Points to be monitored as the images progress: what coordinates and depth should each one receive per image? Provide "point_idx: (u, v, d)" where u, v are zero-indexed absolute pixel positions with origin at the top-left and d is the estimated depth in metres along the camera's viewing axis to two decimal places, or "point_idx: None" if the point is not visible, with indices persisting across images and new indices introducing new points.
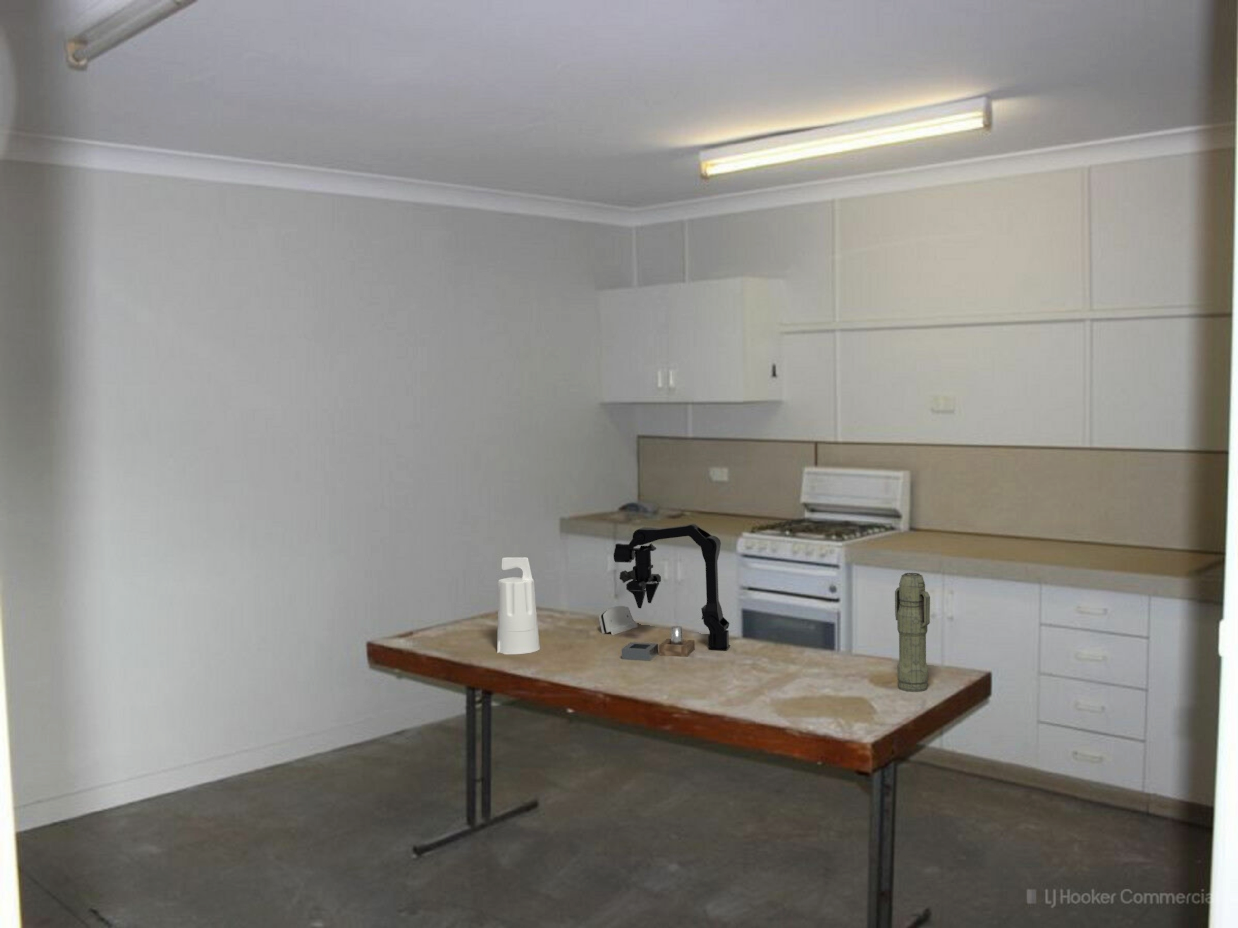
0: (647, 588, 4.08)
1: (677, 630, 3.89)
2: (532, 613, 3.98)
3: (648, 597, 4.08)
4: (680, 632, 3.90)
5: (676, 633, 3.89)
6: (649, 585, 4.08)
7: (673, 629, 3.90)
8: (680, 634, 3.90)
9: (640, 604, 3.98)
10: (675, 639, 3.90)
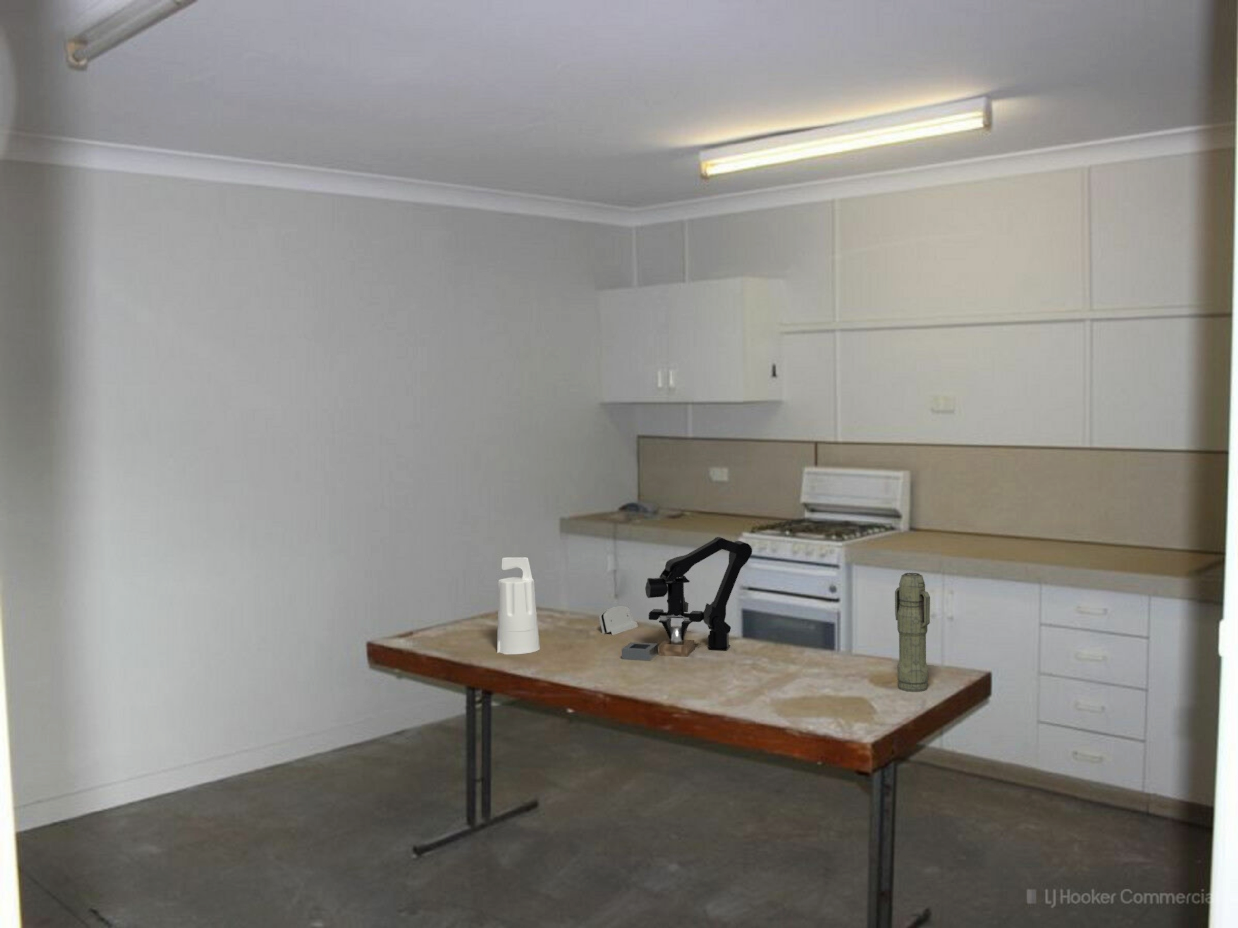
0: None
1: (677, 630, 3.89)
2: (532, 613, 3.98)
3: None
4: (680, 632, 3.90)
5: (676, 633, 3.89)
6: None
7: (673, 629, 3.90)
8: (680, 634, 3.90)
9: None
10: (675, 639, 3.90)
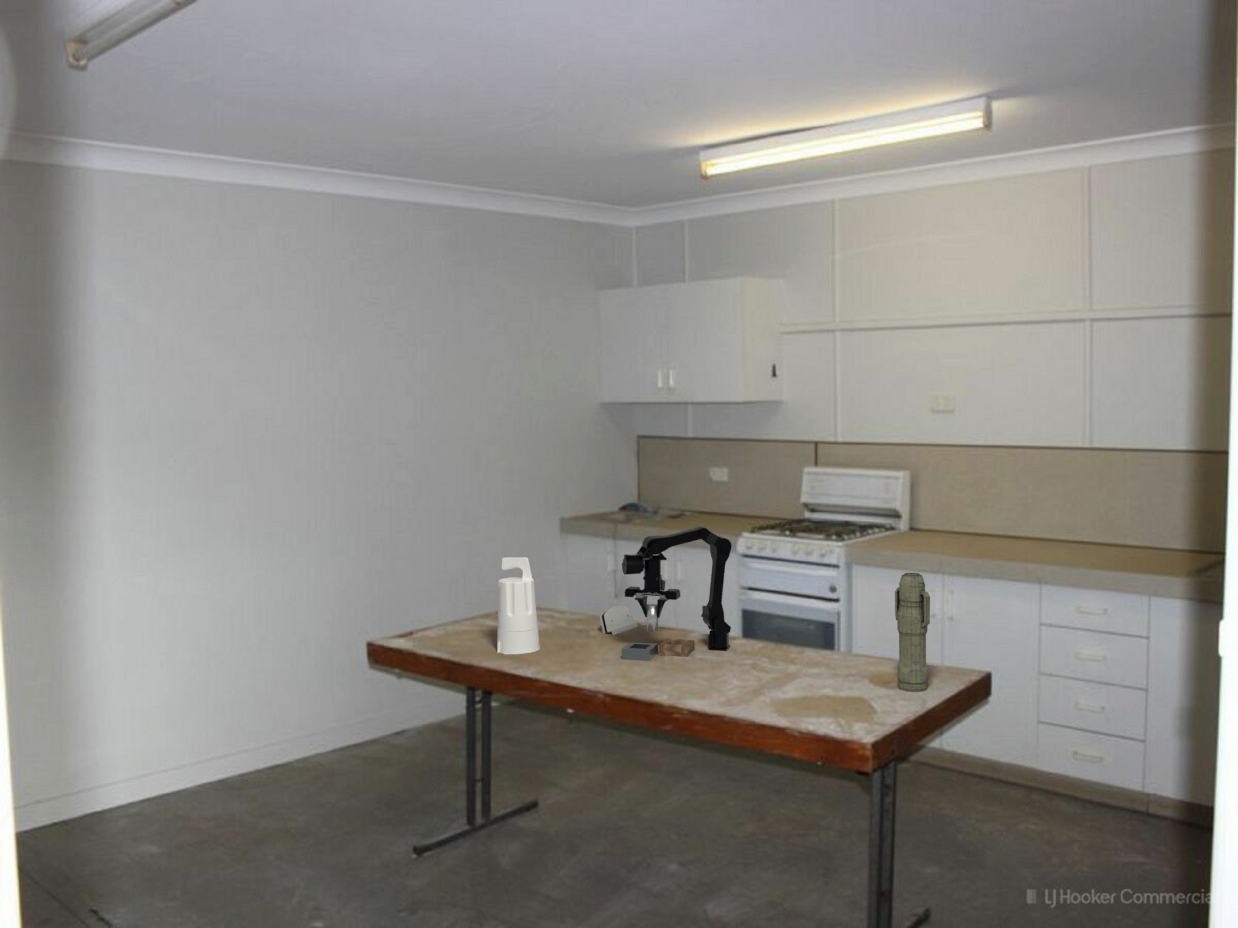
0: None
1: (653, 608, 3.86)
2: (532, 613, 3.98)
3: None
4: (656, 610, 3.87)
5: (652, 611, 3.86)
6: None
7: (649, 606, 3.87)
8: (655, 612, 3.87)
9: None
10: (651, 616, 3.87)
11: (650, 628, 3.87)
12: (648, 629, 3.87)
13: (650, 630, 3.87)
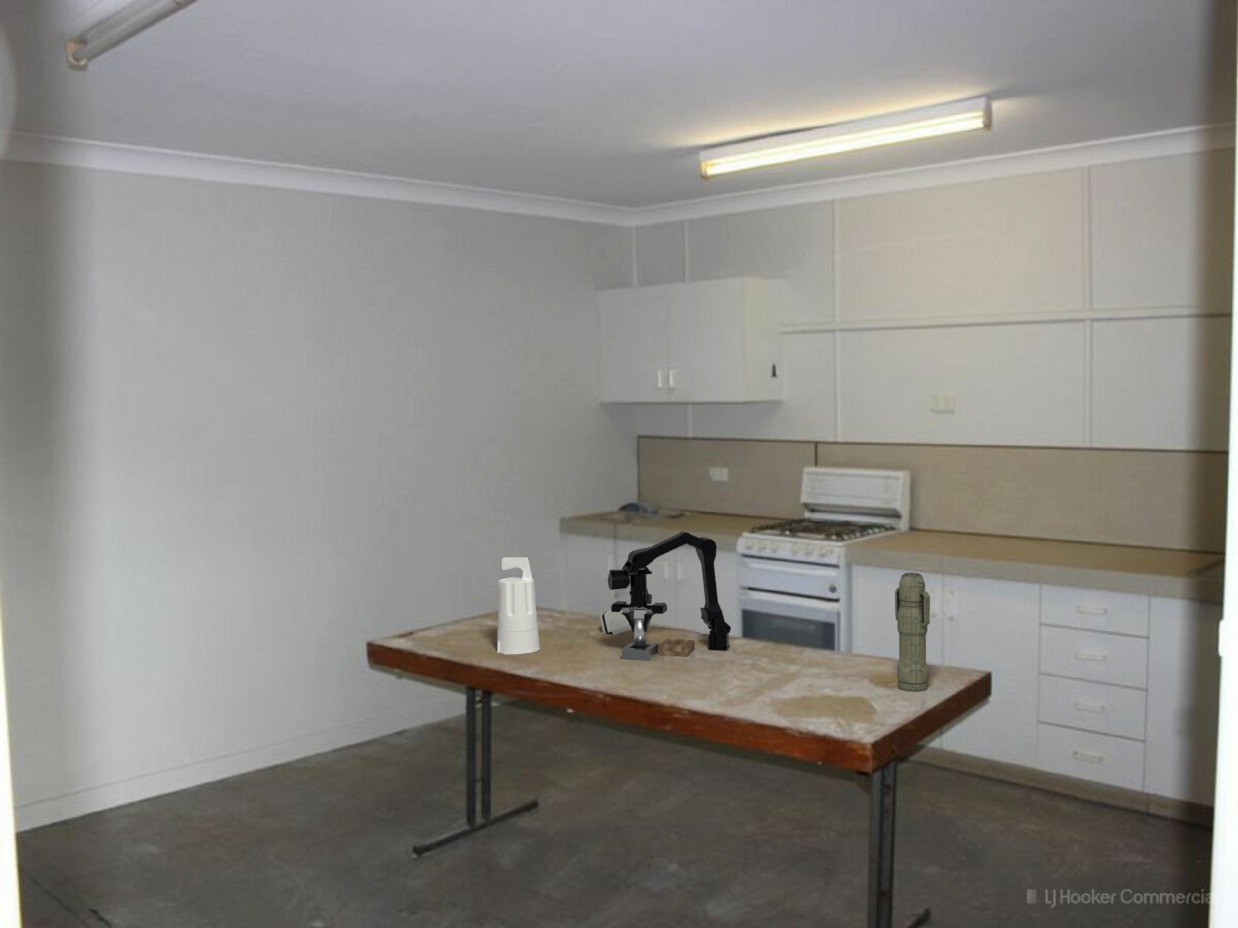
0: None
1: (640, 622, 3.85)
2: (532, 613, 3.98)
3: None
4: (643, 624, 3.86)
5: (639, 625, 3.85)
6: None
7: (635, 621, 3.86)
8: (642, 626, 3.86)
9: None
10: (638, 631, 3.85)
11: (637, 642, 3.86)
12: (636, 643, 3.86)
13: (638, 644, 3.86)
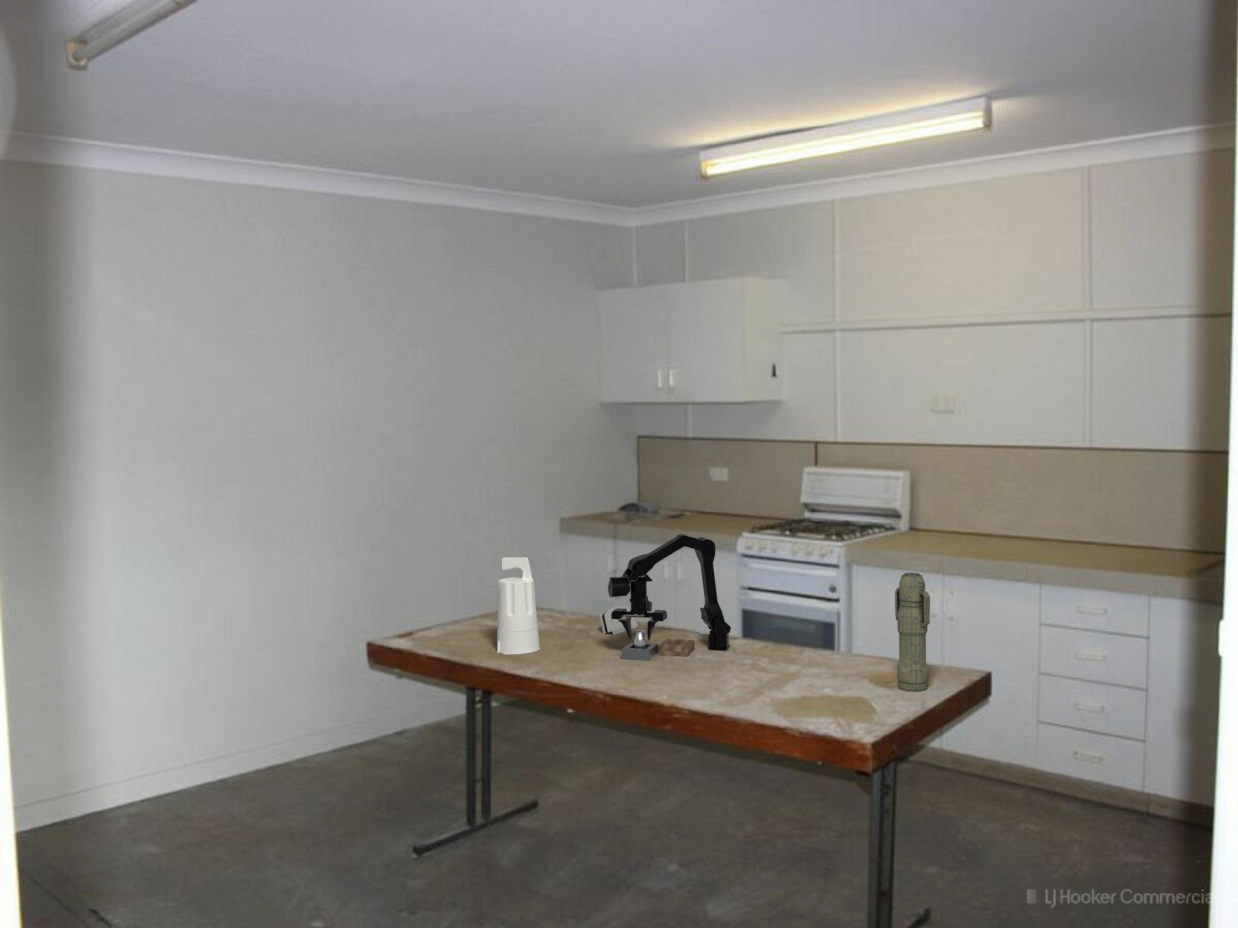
0: None
1: (640, 634, 3.85)
2: (532, 613, 3.98)
3: None
4: (643, 636, 3.86)
5: (639, 637, 3.86)
6: None
7: (636, 633, 3.86)
8: (643, 638, 3.86)
9: None
10: (638, 643, 3.86)
11: None
12: None
13: None
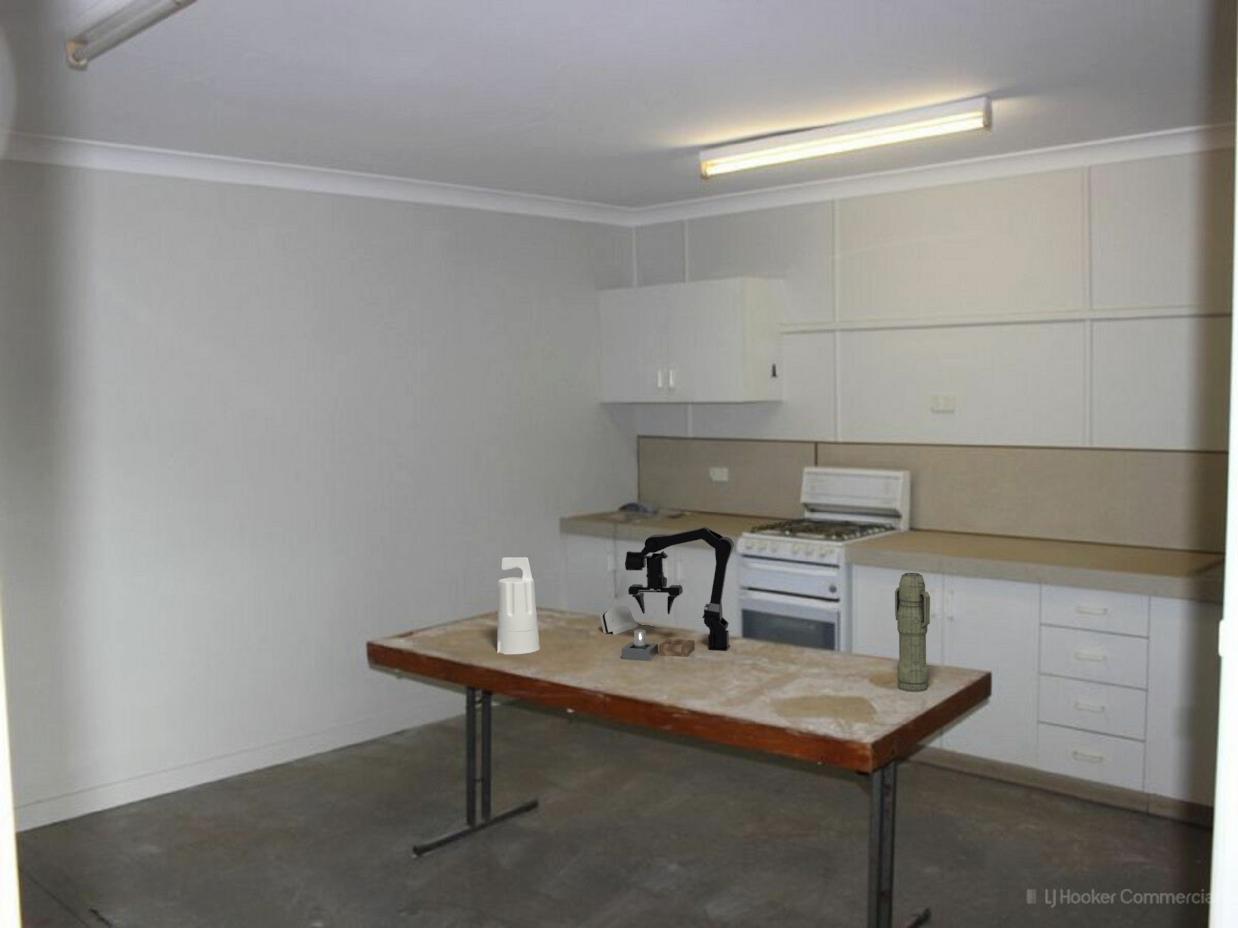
0: None
1: (640, 634, 3.85)
2: (532, 613, 3.98)
3: None
4: (643, 636, 3.86)
5: (639, 637, 3.86)
6: None
7: (636, 633, 3.86)
8: (643, 638, 3.86)
9: None
10: (638, 643, 3.86)
11: None
12: None
13: None
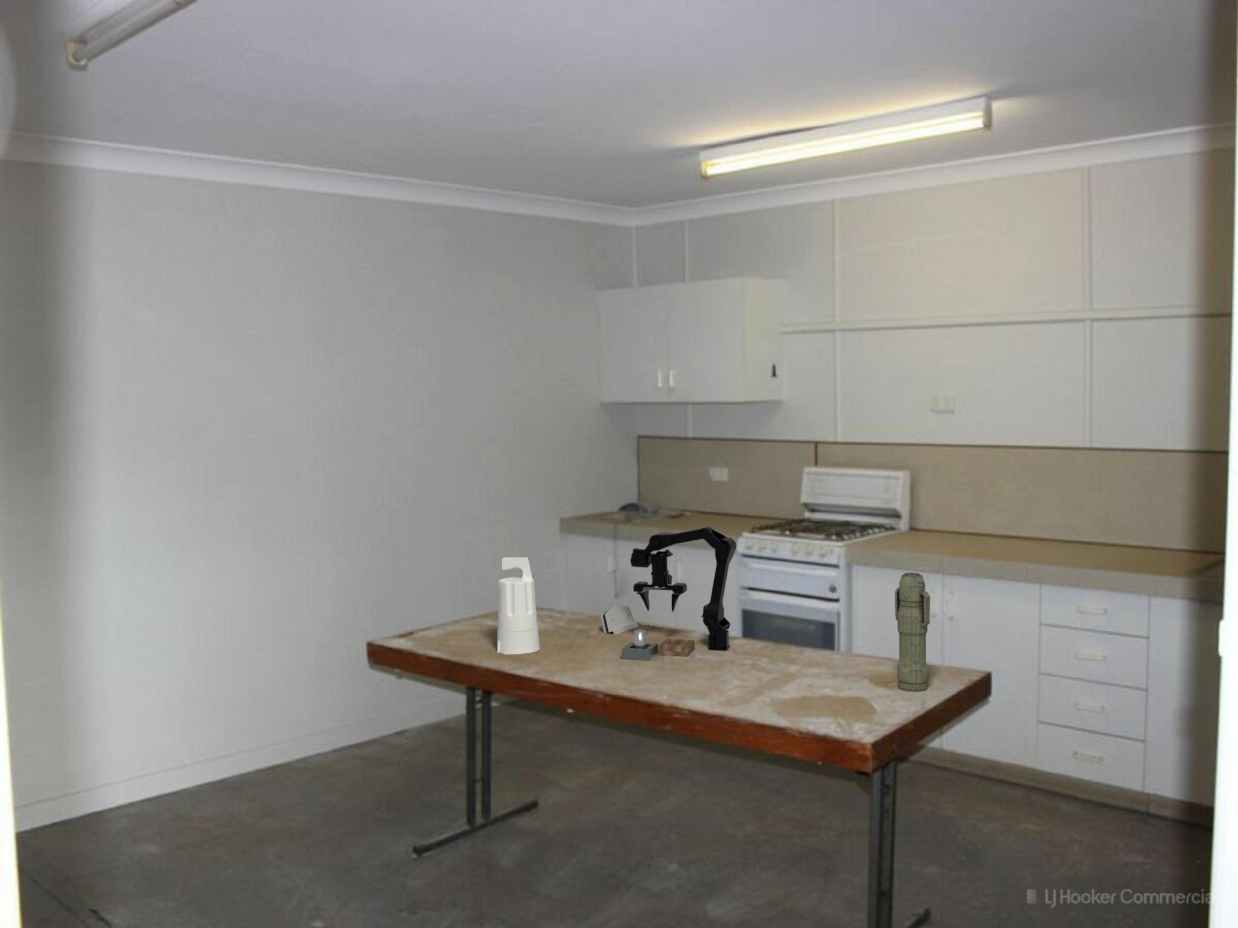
0: None
1: (640, 634, 3.85)
2: (532, 613, 3.98)
3: None
4: (643, 636, 3.86)
5: (639, 637, 3.86)
6: None
7: (636, 633, 3.86)
8: (643, 638, 3.86)
9: None
10: (638, 643, 3.86)
11: None
12: None
13: None
